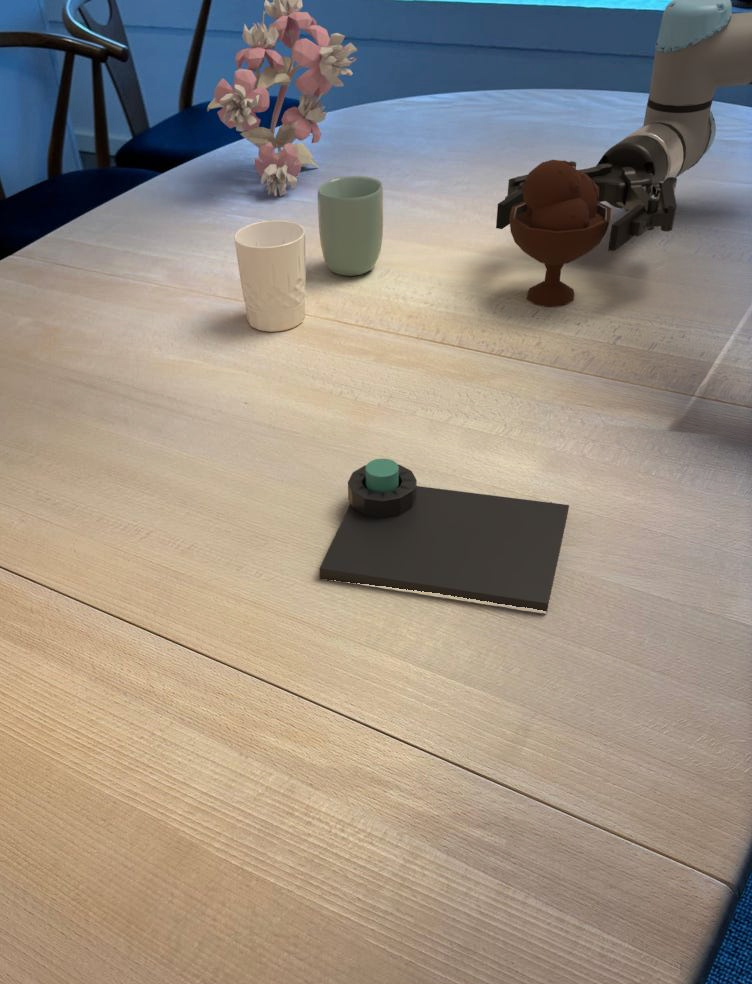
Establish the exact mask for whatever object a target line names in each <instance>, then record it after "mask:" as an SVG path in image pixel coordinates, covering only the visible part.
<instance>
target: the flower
mask: <svg viewBox="0 0 752 984" xmlns="http://www.w3.org/2000/svg"><path fill="white" fill-rule="evenodd" d="M263 7H264V10H263V12H262V21H261V23H260V22H258V21H257V24H256V23H255V22H252V24H253V26H252V27H251V28H250V29H248V27H247V25H246V23H244V25H243V30H242V40H243V41H244V42H245V44H246V45H248V46H249V47H247V48H244V49H241V50H239V51H236V55H235V58H234V61H235V65H236V69H237V70H235V71H234V78H233V87H232V86H231V84H230V83H228V81H227V80H226V79H224V78H223V77H222V78H221V79H220V80H219V82H218V83H217V85H216V87H215V89H214V92H213V93H214V98H213V99H212V100H211V101H210V102H209V104H208V105H207V108H206V111H207V112H209V111H210V110H213V109H217V108H221V109H219V110H218V111H217V112H216V113H217V115H218V118H219V120H220V121H221V122H222V123H223V125H225V126H226V127H228V128H229V129H233V128H235V130H236V131H237V132H241V133H240V136H242V137H243V138H244V139H245V140H247V141H248V142H249V143H251V144H252V145H254V146H255V147H256V148H258V155H257V156H258V157H254V169H255V171H257V173H258V174H259V176H261V177H260V185H263V184H265V183H266V189H265V191H267V196H270V195H273V196H275V197H277V196H278V195H277V191H278V193H279V197H282V196H285V195H286V194H287V191H288V190H287V186H288V185H289V186H290V187H291V188H292V189H293V190H294V189H295V187H296V185H297V183H298V178H296V177H297V176H298V175H299V174H300V173H301V171H302V167H306V166H309V165H312V166H314V167H316V168H317V169H319V165H318V164H317V162H316V161H315V159H314V158H313V155H312V153H311V151H310V150H309V148H308V147H307V146H306V145H305V144H303V143H302V142H303V141H304V140H306V139H308V138H309V137H310V136H311V134H312V139H311V142H310V144H317V143H319V142H320V139H321V137H322V131H321V129H320V127H319V125H318V123H319V124H320V123H321V122H323V121H325V120H326V117H327V113H328V111H324V110H325V108H326V107H327V105H324V103H322V101H323V98H322V97H323V96H324V95H327V93H329V91H330V90H331V88H332V87H337V88H339V87H340V88H341V87H344V86H345V84H344V83H343V81H342V80H341V79H340V78H339V77H338V76H343V75H346V76H349V77H351V76H352V75H354V73H353V71H352V70H351V68H346V67H350V65H351V64H353V63H355V62H356V60H357V59H358V58H357V57H356V58H355V56H354V57H352V56H351V57H350V55H352V54H353V53H356V52H358V49H357V47H356V46H355V45H354V44H353V43H352V42H351V41H350V42H349V43H347V44H346V45H342V43H343V41H344V39H345V37H346V35H343V34H342V33H339V32H335V33H331V34H330V35H329V33H328V30H327V28H324V27H322V26H321V25H318V23H317V20H316V19H314V17H313V16H311V15H310V13H309V11H308V12H307V11H301V10H302V9H303V7H304V6H303V0H272V2H270V1H268V0H265V1H264V3H263ZM266 15H268V16H269V17H270V18H271V19H274V21H273V22H272V23H270V24H269V26H268V27H267V26H266V24H265V16H266ZM301 30H302V31H303V32H307V34H309V35H310V37H313V39H314V41H315V43H314V42H313V41H312V40H310V39H308V38H307V37H306V38H300V35H301ZM299 38H300V39H299ZM277 41H281V42H282V44H283V45H284V46H285V47H287V48H288V49H291V51H290V52H291V56H284V55H283V56H282V55H281V54H279V53H278V52H277V51H276V50H275V49H276V44H277ZM265 58H266V61H267V63H268V65H269V66H268V65H265V66H264V68H263V70H262V72H261V73H260V69H261V68H262V66H263V64H264V63H265ZM244 62H245V64H246V67H247V69H245V68H241V67H242V66H243V63H244ZM294 63H296V66H295V67H294ZM303 67H304V68H308V69H307V70H306V71H305V72H304V73H302V74H301V75H300V76H299V77H298V78H297V79H295V80H294V84H295V87H296V89H297V90H298V91H299V92H300V93H301V95H300V96H299V105H298V107H297V106H292V107H290V108H287V110H285V111H284V113H283V114H282V117H281V119H280V121H281V123H282V124H280V126H279V128H278V130H277V132H276V126H277V123H278V120H279V117H280V114H281V110H282V107H283V104H284V100H285V97H286V94H287V91H288V88H289V87H290V86H291V82H292V81H293V78H294V75H295V74H296V72H297V70H299V69H301V68H303ZM254 72H255V74H254ZM277 84H278V85H280V87H279V91H278V94H277V98H276V100H275V101H276V102H275V105H274V109H273V111H272V116H271V122H270V128H266V127H264V126H261V127H260V124H261V118H259V117H258V116H257V114H256V113H262V112H263V113H264V112H266V111H267V110H268V109H269V108H270V93H269V88H272V87H273V86H275V85H277ZM321 98H322V99H321ZM320 99H321V100H320ZM321 103H322V104H321ZM320 104H321V105H320ZM275 132H276V134H275ZM296 140H298V141H300V142H295V141H296ZM294 142H295V143H294ZM276 149H277V152H276V151H275V150H276Z"/></svg>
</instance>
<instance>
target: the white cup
mask: <svg viewBox="0 0 752 984" xmlns="http://www.w3.org/2000/svg"><path fill="white" fill-rule="evenodd" d="M233 238H234V240H233V241H234V247H235V252H236V253H235V254H236V259H237V266H238V274H239V279H240V280H239V281H240V286H241V291H242V297H243V301H244V305H245V313H246V318H247V319H246V320H247V322H248V324H249V326H250V327H252V328H253V329H255V330H257V331H262V332H270V333H271V332H272V333H273V332H282V331H287V330H290V329H293V328H296V327H297V326H299V325H300V324H302V323H303V321H304V319H305V318H306V317H305V316H306V299H305V298H306V289H307V288H306V277H307V274H306V273H307V269H306V268H307V266H306V261H307V260H306V259H307V258H306V228H304V226H303V225H301V224H300V223H298V222H294V221H291V220H290V221H289V220H282V219H281V220H280V219H275V220H274V219H273V220H272V219H271V220H263V221H259V222H258V221H257V222H253V223H250V224H247V225H244V226H243V227H241V228H239V229H238V230H237V231H236V232H235V233H234V236H233Z"/></svg>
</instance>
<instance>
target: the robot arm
mask: <svg viewBox="0 0 752 984" xmlns="http://www.w3.org/2000/svg"><path fill="white" fill-rule="evenodd" d="M732 6H733V5H732V1H731V0H671V1H670V2H669V3H668V4H667V5H666V6H665V8H664V10H663V14H662V18H661V21H660V25H659V30H658V35H657V40H656V43H655V46H654V50H655V52H654V57H653V59H654V60H653V65H652V72H651V78H650V86H649V93H648V97H647V103H646V108H645V114H644V120H643V125H642V127H640V128H638V129H637V130H635V131H633V132H632V133H629V135H627V136H626V137H625V138H623V139H621V140H620V141H619V142H617V143H616V144H614V145H613V146H611V147H610V148H609V149H607V150H606V152H604V154H603V155H602V156H601V158H600V159H599V161H598V162H597V164H596V165H595V166H592V167H588V168H582V169H577V162H576V161H573V160H571V161H568V162H569V163H571V164H572V166H573V167H574V168H575V169H576V170H578V171H580V172H582V173H585V174H587V175H588V176H589V177H590V178H591V179H592V180H593V181H594V182H595V183H596V184H597V186H598V187H599V188H600V189H599V200H598V199H597V201H598V202H600V203H603V202H606V203H607V204H609V205H611V206H612V207H614V208H617V209H622V210H623V211H624V212H625V214H624V215H623V216H621V218H619V219H618V220H616V221H615V222H613V223H612V224H611V229H610V235H609V241H608V248H607V251H610V252H616V251H617V250H619V249H621V247H622V246H623V245H625V244H626V243H627V242H630V240H631V239H632V238H634V237H635V236H636V237H640V236H643V235H644V234H645V233H646V232H647V231H653V230H655V227H660V230H661V231H663V232H672V230H673V228H674V224H675V219H676V213H677V208H678V207H677V206H678V205H677V199H676V195H675V194H676V188H677V182H678V177H679V176H681V175H682V174H683V173H685V172H686V171H689V170H690V169H691V168H693V167H695V166H696V165H697V164H698V163H699V162H700V160H701V159H702V158H703V157H704V155H706V154H707V152H708V151H709V150H710V148H711V147H712V145H713V143H714V140H715V137H716V131H717V126H716V120H715V116H714V114H713V112H712V111H711V108H712V106H713V105H712V104H713V100H714V95H715V91H716V89H718V88H725V87H737V86H746V85H747V86H749V85H752V11H751V12H750V11H749V12H740V13H737V12H736V13H733V12H732ZM528 174H529V173H528ZM528 174H527V173H526V174H523V175H520V176H516V177H512V178H509V179H508V185H507V194H506V196H505V197H504V199H502V201H500V202H498V203H497V207H496V208H497V209H496V222H495V223H496V224H495V229H498V230H503V229H505V228H507V226H510V220H509V218H510V213H511V209H512V207H513V206H515V205H517V204H520V203H522V202H524V201H525V200H524V198H523V193H522V190H521V188H522V186H523V184H524V182H525V179H526V177H527V175H528ZM652 197H654V198H652Z"/></svg>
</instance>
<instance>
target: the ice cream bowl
mask: <svg viewBox="0 0 752 984" xmlns="http://www.w3.org/2000/svg"><path fill="white" fill-rule="evenodd" d="M569 162H570V161H567V160H559V159H550V160H547V161H543V162H541V163H539V164H538V165H537V166H535V168H533V169H532V170H530V171H529V172H528V175H527V174H526V175H527V177H526V179H525V182H524V184H523V186H522V188H521V190H522V193H523V198H524V200H525V201H524V202H522V203H520V204H517V205H515V206H513V207H512V209H511V213H510V218H509V220H510V224H509V230H510V234H511V236H512V238H513V239H512V240H513V242H514V243H515V244H516V245H517V246H518V247H519V248H520V250H521V251H522V252H523V253H525V254H526V255H528V256H529V257H530V258H532V259H534V260H536V261H537V262H539V263H541V264H544V267H545V274H544V280H543V281H541V282H538V283H537V284H535V285H532V286H531V287H529V288H528V291H527V293H526V300H528V301H529V302H530V303H532V304H533V305H536V306H541V307H547V308H552V307H561V306H566V305H568V304H570V303H571V302H573V301H575V290H574V288H572V287H570V286H569V285H567V284H566V283H564V282H563V281H561V273H562V269H563V267H564V265H566V264H570V263H571V262H574V261H575V260H578V259H579V258H581V257H584V256H585V255H587V254H588V253H590V252H591V251H592V250H594V249H595V248H596V247H598V245H600V243H601V242H602V241H603V238H604V237H605V235H607V231H608V229H609V226H610V222H611V219H612V217H611V215H612V207H611V206H608V205H606V204H604V203H603V202H598V201H597V199H598V200H599V189H600V188H599V187H598V186H597V184H596V183H595V182H594V181H593V180H592V179H591V178H590V177H589V176H588V175H587V174H585V173H582V172H580V171H578V170H579V169H577V168H576V169H575V168H574V167H573V166H572V164H571V163H569Z"/></svg>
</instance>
